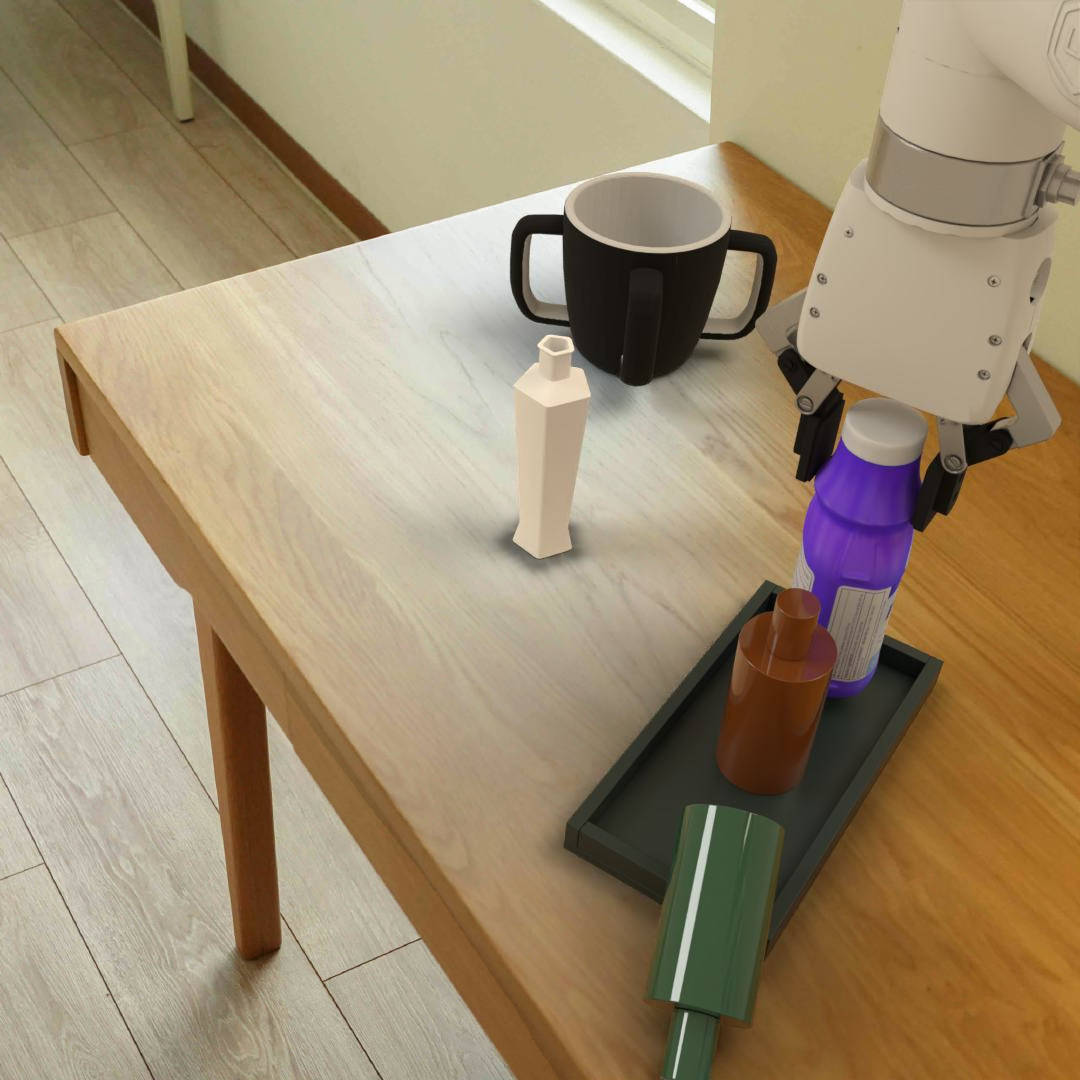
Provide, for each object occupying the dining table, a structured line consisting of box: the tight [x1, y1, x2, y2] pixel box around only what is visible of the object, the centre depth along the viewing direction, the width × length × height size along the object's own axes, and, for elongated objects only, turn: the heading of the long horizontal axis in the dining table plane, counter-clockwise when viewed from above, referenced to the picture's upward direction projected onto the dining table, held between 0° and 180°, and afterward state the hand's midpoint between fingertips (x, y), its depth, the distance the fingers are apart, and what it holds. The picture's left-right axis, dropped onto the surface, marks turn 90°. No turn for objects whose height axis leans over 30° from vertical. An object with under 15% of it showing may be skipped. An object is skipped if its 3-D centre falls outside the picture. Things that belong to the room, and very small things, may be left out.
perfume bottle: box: [512, 334, 592, 560], centre depth 83 cm, size 5×4×15 cm
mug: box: [509, 171, 778, 387], centre depth 101 cm, size 16×16×12 cm
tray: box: [563, 579, 945, 964], centre depth 74 cm, size 12×23×2 cm, turn 146°
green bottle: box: [642, 804, 786, 1080], centre depth 62 cm, size 5×5×12 cm
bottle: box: [790, 397, 929, 698], centre depth 72 cm, size 7×6×17 cm
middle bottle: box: [715, 587, 838, 795], centre depth 70 cm, size 5×5×12 cm
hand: (869, 489), depth 69 cm, fingers closed on bottle, 5 cm apart
